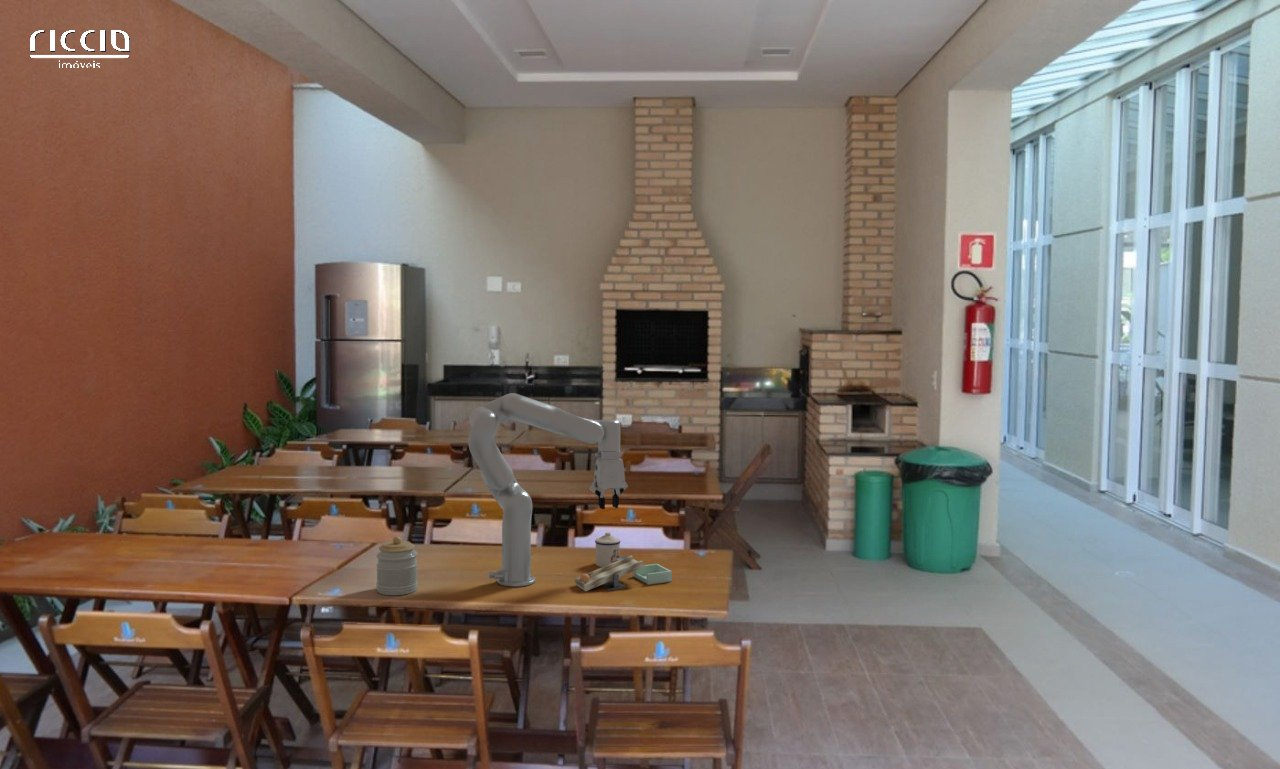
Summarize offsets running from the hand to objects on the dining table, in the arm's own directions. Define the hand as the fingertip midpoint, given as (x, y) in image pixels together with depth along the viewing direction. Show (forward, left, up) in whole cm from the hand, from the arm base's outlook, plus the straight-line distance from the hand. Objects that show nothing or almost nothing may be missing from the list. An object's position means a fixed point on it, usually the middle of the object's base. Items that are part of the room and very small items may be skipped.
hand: (608, 507), depth 324 cm
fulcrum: (-5, -12, -23) cm, 27 cm away
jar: (-70, +11, -24) cm, 75 cm away
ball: (-14, -12, -20) cm, 27 cm away
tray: (+11, -12, -23) cm, 28 cm away
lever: (-5, -10, -20) cm, 23 cm away
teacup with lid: (+6, +12, -24) cm, 27 cm away
